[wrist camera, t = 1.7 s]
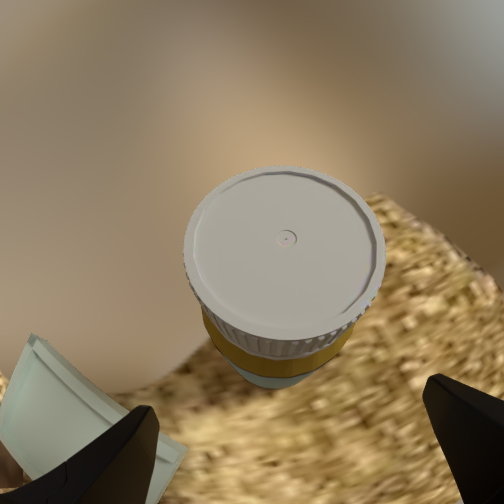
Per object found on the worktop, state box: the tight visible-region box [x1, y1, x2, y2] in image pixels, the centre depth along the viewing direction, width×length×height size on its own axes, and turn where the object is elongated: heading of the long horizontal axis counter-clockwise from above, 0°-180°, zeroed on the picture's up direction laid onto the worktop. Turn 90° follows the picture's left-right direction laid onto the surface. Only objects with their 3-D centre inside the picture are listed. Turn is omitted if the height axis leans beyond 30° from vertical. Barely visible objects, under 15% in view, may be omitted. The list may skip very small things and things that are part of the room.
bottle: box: [183, 166, 386, 389], centre depth 15 cm, size 7×7×15 cm
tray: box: [0, 333, 189, 504], centre depth 15 cm, size 12×16×4 cm
